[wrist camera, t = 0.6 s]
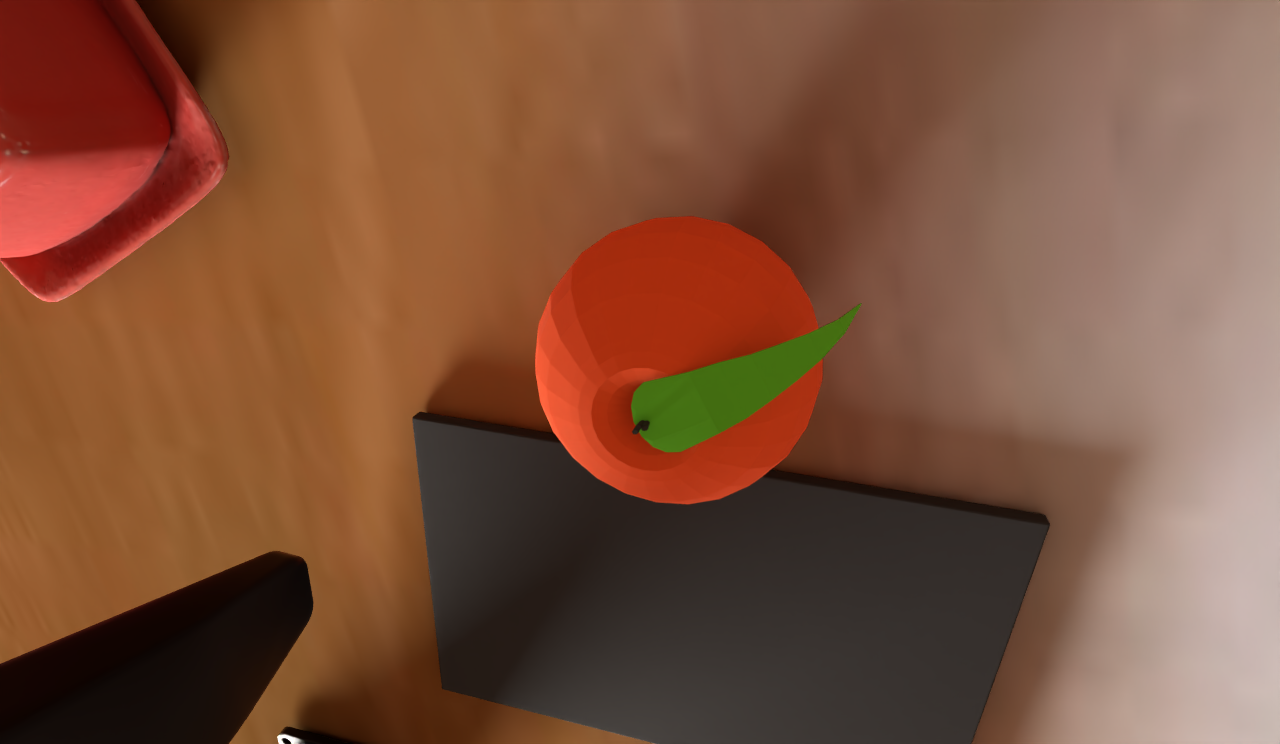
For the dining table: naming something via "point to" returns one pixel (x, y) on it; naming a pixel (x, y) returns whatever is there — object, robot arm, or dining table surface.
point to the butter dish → (93, 140)
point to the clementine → (680, 359)
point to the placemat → (714, 598)
